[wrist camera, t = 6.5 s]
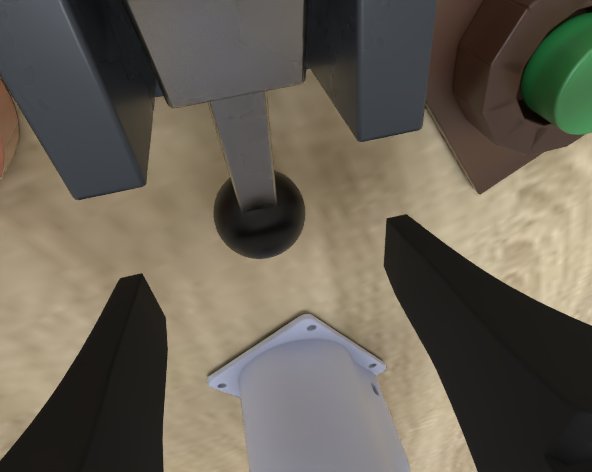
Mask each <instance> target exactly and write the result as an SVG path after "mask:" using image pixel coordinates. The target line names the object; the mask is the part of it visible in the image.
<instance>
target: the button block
mask: <svg viewBox="0 0 592 472" xmlns="http://www.w3.org/2000/svg"><path fill="white" fill-rule="evenodd" d="M590 12H592V0H437V7H436V16H435V24H434V33H433V41H432V50H431V58H430V67H429V75H428V83H427V92H426V100H425V106H426V108H427V110H428V111H429V113H430V115H431V117H432V118H433V120H434V122H435V123H436V125H437V127H438V129H439V130H440V132H441V134H442V135H443V137H444V139H445V141H446V142H447V144H448V146H449V147H450V149H451V151H452V153H453V154H454V156H455V158H456V159H457V161H458V163H459V165H460V166H461V168H462V170H463V172H464V173H465V175H466V177H467V178H468V180H469V182H470V184H471V185H472V187H473V189H474V190H475V191H476V192H477V193H478V194H482V193H483V192H485V191H486V190H488V189H489V188H491V187H492V186H494V185H495V184H497V183H498V182H500V181H501V180H503V179H504V178H506V177H507V176H509V175H510V174H512V173H513V172H515V171H516V170H518V169H519V168H521V167H522V166H524V165H525V164H527V163H528V162H530V161H531V160H533V159H534V158H536V157H537V156H539V155H540V154H542V153H544V152H546V151H550V150H554V149H558V148H562V147H566V146H568V145H570V144H572V143H573V142H575V141H576V140H578V139H579V138H581V137H582V136H584V135H585V134H580V135H576V134H569V133H566V132H564V131H562V130H560V129H559V128H557V127H556V126H555V125H553V124H552V123H550V122H549V121H547V120H546V119H544V118H543V117H541V116H540V115H538V114H537V113H535V112H534V111H533V110H531V109H530V108H529V107H528V106H527V105H526V104H525V102H524V100H523V96H522V91H521V85H522V78H523V74H524V71H525V68H526V66H527V63H528V61H529V60H530V58H531V56H532V55H533V53H534V52H535V50H536V49H537V48H538V46H539V45H540V43H541V42H542V41H543V40H544V39H545V38H546V37H547V36H548V35H549V34H550V33H551V32H552V31H553V30H554V29H555V28H557V27H558V26H559V25H561V24H562V23H564V22H565V21H567V20H569V19H571V18H573V17H575V16H578V15H581V14H584V13H590Z"/></svg>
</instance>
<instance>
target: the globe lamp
mask: <svg viewBox="0 0 592 472" xmlns="http://www.w3.org/2000/svg"><path fill="white" fill-rule="evenodd" d="M18 138H19V126H18V118H17V114H16V111H15V107H14V104H13V102H12V99H11V97H10V95H9V92H8V91H7V89H6V87H5V85H4V84H3V82H2V80H1V79H0V180H1V178H2V177H3V175H4V173H5V171H6V170H7V168H8V166H9V164H10V163H11V161H12V159H13V157H14V155H15V153H16V149H17V145H18Z"/></svg>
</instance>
